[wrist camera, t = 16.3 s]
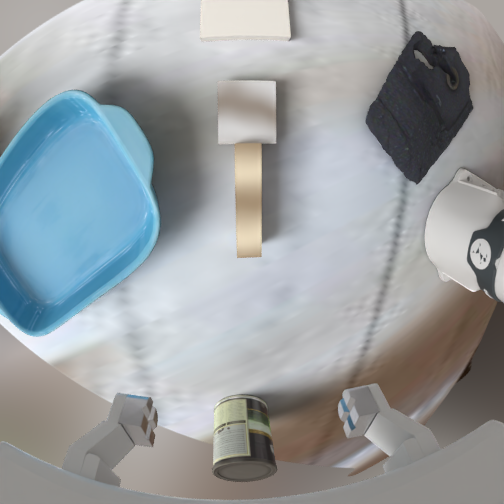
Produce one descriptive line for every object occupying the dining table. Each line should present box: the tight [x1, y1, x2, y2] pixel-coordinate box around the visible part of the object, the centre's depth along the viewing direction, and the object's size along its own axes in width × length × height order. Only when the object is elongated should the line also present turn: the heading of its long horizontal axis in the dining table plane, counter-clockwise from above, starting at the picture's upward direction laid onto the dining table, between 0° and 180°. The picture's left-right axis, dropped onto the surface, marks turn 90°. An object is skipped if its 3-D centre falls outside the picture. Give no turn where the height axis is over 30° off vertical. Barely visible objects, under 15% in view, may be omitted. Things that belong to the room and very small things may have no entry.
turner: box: [218, 80, 276, 258], centre depth 28 cm, size 19×6×4 cm, turn 0°
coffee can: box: [212, 395, 277, 482], centre depth 39 cm, size 10×10×14 cm
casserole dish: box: [0, 90, 161, 337], centre depth 27 cm, size 37×22×7 cm, turn 121°
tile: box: [200, 0, 291, 42], centre depth 22 cm, size 2×10×10 cm
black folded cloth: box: [366, 31, 473, 184], centre depth 26 cm, size 15×22×5 cm
